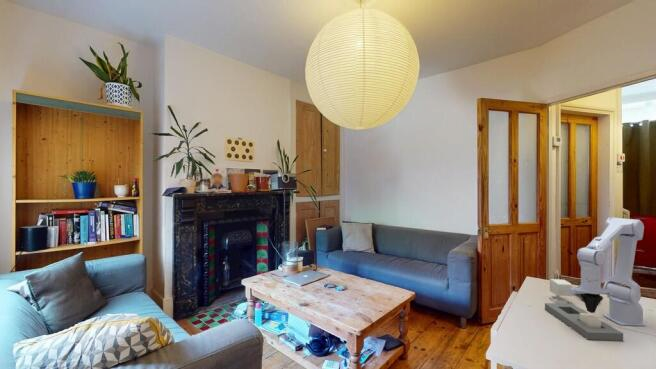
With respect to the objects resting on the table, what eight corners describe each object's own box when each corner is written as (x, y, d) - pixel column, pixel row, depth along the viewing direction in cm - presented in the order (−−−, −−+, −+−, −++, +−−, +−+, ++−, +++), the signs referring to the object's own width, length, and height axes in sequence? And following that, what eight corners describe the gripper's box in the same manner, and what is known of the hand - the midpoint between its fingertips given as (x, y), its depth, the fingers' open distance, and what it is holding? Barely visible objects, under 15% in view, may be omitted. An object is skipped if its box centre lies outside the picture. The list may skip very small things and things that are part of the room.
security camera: (572, 304, 131) (572, 284, 131) (555, 303, 132) (555, 283, 132) (563, 298, 137) (563, 279, 137) (547, 297, 138) (547, 278, 138)
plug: (590, 326, 111) (590, 313, 111) (601, 333, 106) (600, 319, 106) (579, 326, 112) (579, 313, 111) (589, 333, 107) (589, 319, 106)
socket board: (572, 310, 125) (572, 303, 125) (623, 341, 101) (623, 333, 101) (544, 309, 127) (544, 303, 126) (588, 340, 103) (588, 332, 103)
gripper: (601, 274, 111) (601, 307, 111) (563, 274, 113) (563, 306, 113) (617, 281, 104) (618, 316, 104) (577, 280, 106) (577, 314, 106)
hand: (590, 311), depth 108 cm, fingers closed
